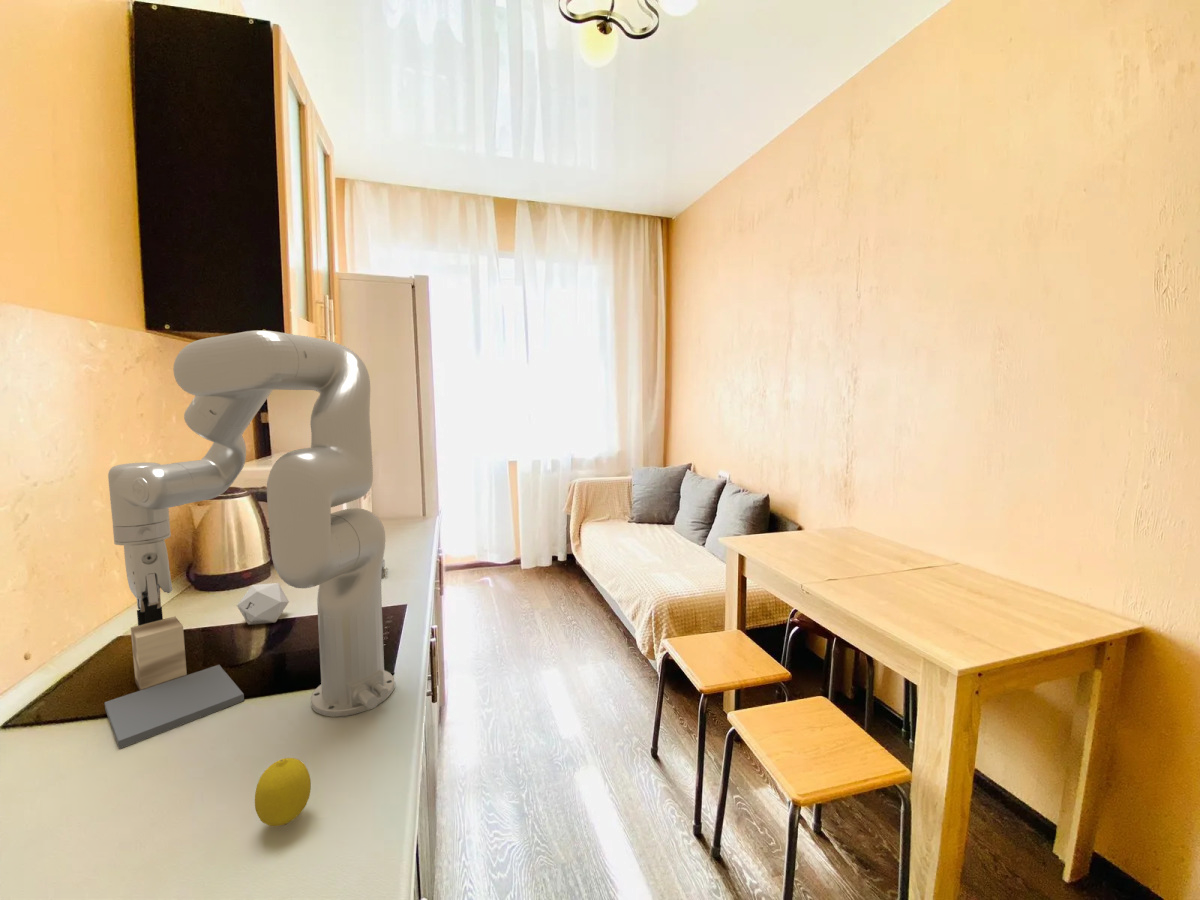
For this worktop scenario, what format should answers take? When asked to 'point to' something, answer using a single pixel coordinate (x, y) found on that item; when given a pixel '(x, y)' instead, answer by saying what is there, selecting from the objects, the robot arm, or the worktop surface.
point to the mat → (171, 704)
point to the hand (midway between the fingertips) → (151, 629)
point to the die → (263, 603)
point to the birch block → (158, 652)
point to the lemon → (282, 792)
